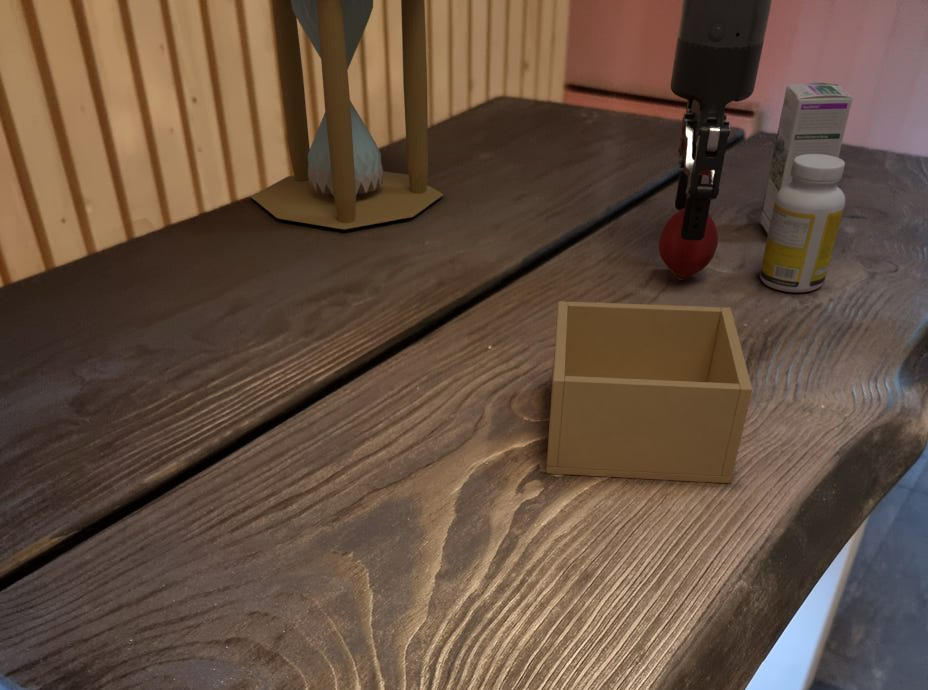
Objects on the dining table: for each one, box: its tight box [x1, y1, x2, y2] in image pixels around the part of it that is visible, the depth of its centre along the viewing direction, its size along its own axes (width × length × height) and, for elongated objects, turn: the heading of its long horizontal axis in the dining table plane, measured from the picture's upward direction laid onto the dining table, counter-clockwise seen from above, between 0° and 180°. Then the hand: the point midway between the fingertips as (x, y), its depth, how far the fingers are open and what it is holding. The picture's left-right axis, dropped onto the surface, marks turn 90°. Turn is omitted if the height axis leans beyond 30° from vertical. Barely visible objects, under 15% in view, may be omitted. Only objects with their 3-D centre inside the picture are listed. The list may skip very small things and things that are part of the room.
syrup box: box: [759, 82, 853, 236], centre depth 101 cm, size 6×6×14 cm
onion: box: [658, 208, 719, 281], centre depth 94 cm, size 6×6×8 cm
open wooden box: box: [545, 301, 753, 484], centre depth 71 cm, size 14×14×8 cm
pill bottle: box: [759, 154, 846, 293], centre depth 92 cm, size 6×6×12 cm
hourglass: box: [250, 0, 445, 230], centre depth 108 cm, size 24×22×25 cm
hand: (688, 223), depth 93 cm, fingers open, 8 cm apart
